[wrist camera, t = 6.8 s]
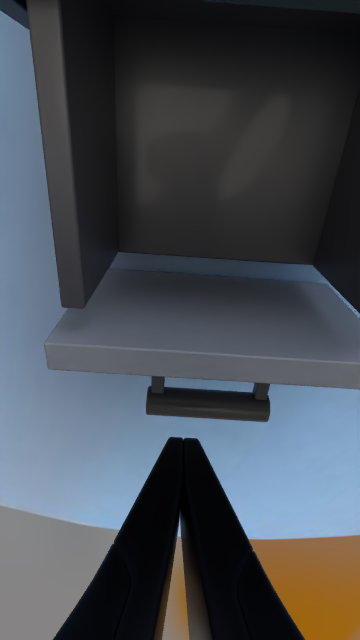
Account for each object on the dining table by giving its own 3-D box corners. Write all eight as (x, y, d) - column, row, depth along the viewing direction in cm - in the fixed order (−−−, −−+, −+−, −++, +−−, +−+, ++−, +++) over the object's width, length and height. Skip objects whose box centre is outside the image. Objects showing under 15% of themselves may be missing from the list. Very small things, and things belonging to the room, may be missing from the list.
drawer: (302, 365, 22) (356, 472, 15) (101, 352, 21) (60, 453, 15) (404, 20, 13) (630, -104, 7) (80, -6, 13) (-35, -158, 6)
